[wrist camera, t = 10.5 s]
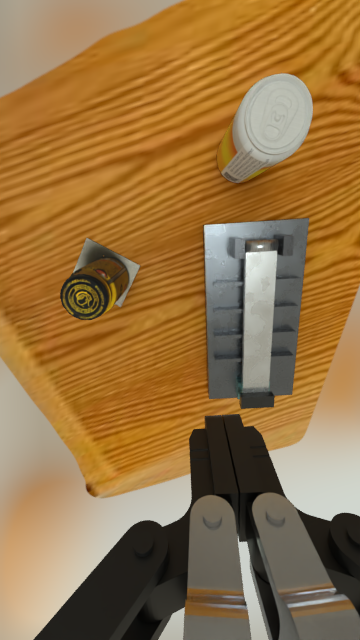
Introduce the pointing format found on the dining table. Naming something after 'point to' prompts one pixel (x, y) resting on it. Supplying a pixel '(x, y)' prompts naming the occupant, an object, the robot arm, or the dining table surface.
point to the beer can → (265, 127)
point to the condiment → (97, 282)
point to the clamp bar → (258, 322)
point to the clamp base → (227, 301)
